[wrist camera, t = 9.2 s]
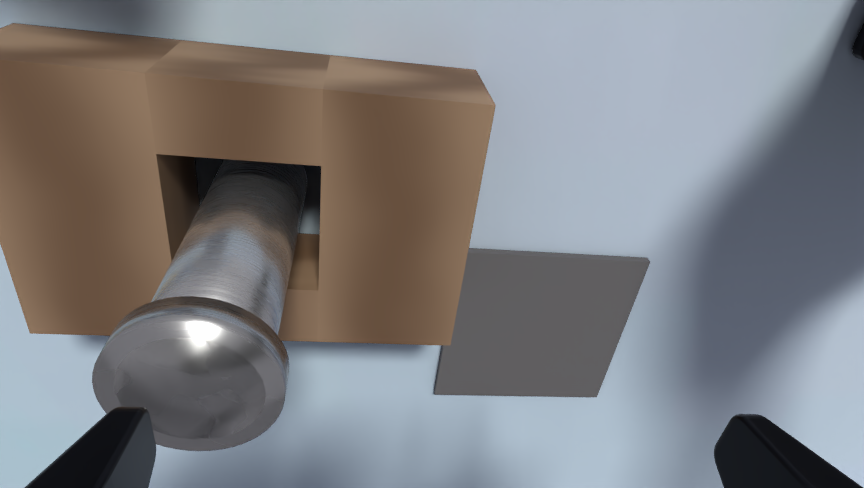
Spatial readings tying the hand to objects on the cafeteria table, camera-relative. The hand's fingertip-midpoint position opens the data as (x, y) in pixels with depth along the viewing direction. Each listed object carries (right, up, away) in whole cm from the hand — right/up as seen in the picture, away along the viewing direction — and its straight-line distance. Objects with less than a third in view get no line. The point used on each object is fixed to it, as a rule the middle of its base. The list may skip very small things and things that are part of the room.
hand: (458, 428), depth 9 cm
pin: (-6, +5, +12) cm, 14 cm away
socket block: (-6, +5, +12) cm, 14 cm away
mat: (+4, -1, +17) cm, 17 cm away
